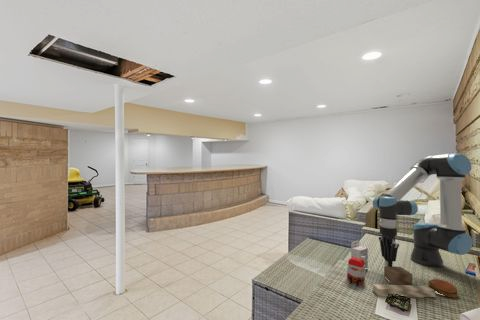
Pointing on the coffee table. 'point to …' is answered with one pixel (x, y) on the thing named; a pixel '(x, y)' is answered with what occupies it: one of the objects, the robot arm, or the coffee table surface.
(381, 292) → the maple board
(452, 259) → the coffee table surface
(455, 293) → the burger
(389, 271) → the walnut block
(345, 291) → the coffee table surface
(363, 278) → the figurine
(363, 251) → the ink box
